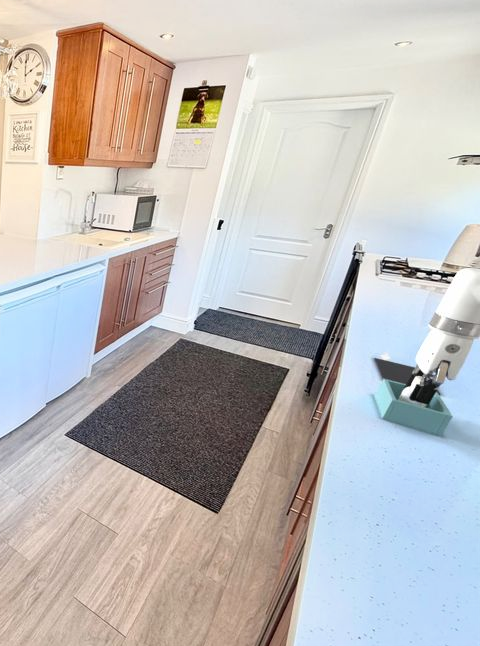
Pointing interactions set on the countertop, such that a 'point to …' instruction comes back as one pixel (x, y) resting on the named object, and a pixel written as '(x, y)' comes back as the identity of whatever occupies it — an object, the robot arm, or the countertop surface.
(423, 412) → the bin
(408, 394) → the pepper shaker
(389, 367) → the mat
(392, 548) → the countertop surface
